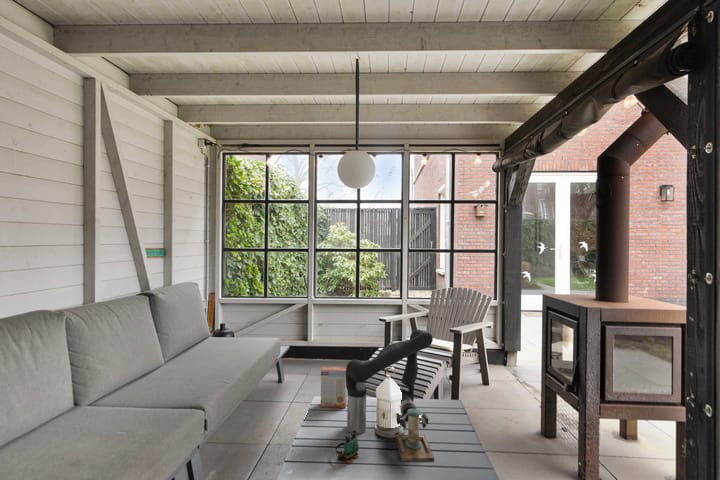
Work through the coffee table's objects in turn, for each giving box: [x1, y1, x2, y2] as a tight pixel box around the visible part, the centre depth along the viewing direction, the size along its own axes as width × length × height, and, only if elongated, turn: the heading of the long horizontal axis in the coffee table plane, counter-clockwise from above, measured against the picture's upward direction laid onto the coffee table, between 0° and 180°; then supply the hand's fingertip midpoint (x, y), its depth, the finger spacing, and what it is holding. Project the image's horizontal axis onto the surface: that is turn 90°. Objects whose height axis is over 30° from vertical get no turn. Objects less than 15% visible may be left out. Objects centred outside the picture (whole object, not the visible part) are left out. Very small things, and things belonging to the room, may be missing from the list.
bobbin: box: [406, 408, 422, 450], centre depth 175 cm, size 7×7×15 cm
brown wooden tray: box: [395, 434, 435, 462], centre depth 175 cm, size 14×20×3 cm
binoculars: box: [335, 431, 360, 464], centre depth 167 cm, size 9×11×10 cm
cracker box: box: [320, 366, 348, 409], centre depth 219 cm, size 14×6×21 cm, turn 84°
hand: (414, 426), depth 173 cm, fingers open, 8 cm apart
